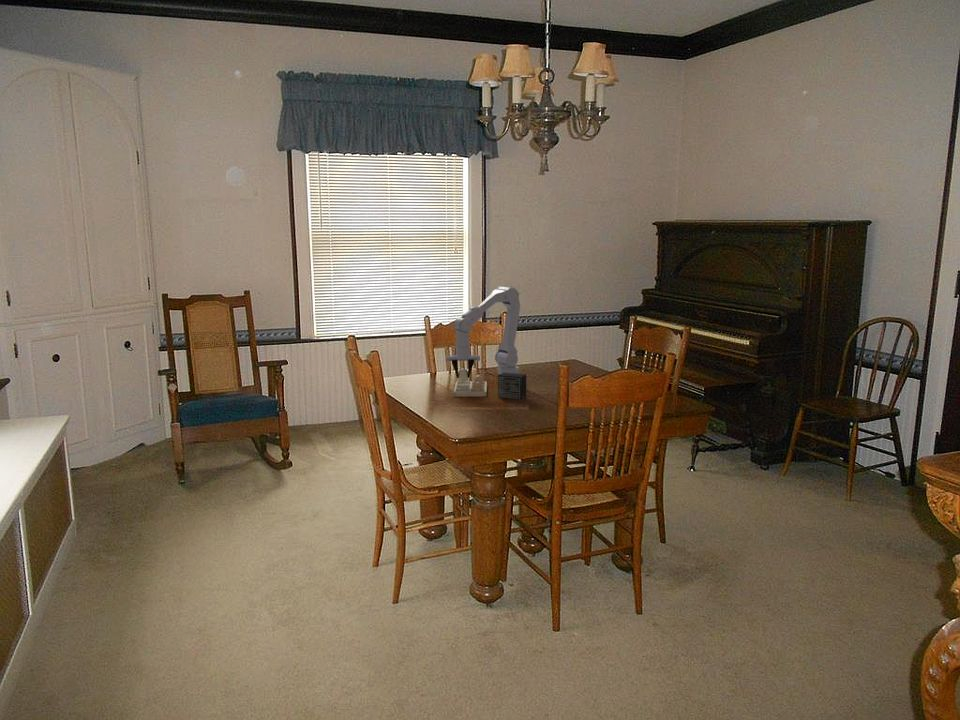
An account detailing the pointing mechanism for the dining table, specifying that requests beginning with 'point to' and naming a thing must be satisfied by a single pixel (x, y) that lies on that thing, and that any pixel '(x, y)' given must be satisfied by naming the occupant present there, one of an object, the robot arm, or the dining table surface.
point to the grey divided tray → (468, 389)
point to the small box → (512, 385)
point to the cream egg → (462, 375)
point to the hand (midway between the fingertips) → (463, 377)
